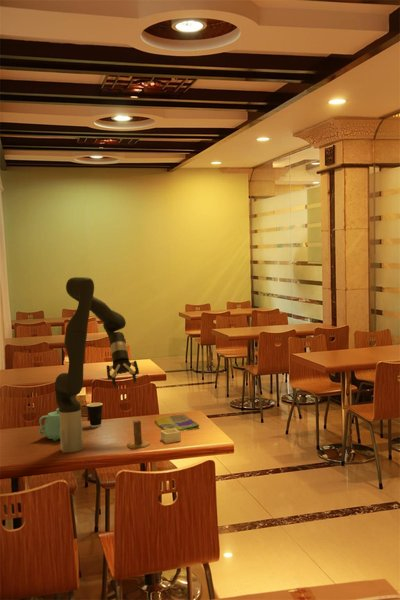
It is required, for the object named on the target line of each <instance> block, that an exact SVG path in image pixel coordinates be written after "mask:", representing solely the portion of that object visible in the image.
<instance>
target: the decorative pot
mask: <svg viewBox="0 0 400 600" xmlns="http://www.w3.org/2000/svg"><path fill="white" fill-rule="evenodd" d="M43 419H45V420H44V423H43V422H42V420H43ZM38 423H39V425H40V429H39V430H38V434H39V435H44V436H45V437H46V438H47V439H48V440H52V441H54V442H57V441H58V440H60V431H59V428H60V417H59V407H58V408H56V409H55V411H51V412H48V414H47V415H42V416H41V417H40V418H39V421H38ZM43 424H44V425H43Z"/></svg>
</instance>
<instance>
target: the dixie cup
mask: <svg viewBox="0 0 400 600" xmlns="http://www.w3.org/2000/svg"><path fill="white" fill-rule="evenodd" d="M86 407H87V412H88V413H87V414H88V418H89V424H90V427H91V428H100V427H101V426H102V425H101V424H102V416H103V415H102V414H103V403H102V402H91V403H87V404H86Z"/></svg>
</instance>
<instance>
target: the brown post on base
mask: <svg viewBox="0 0 400 600" xmlns="http://www.w3.org/2000/svg"><path fill="white" fill-rule="evenodd" d="M132 422H133V439H134V440H133V441H129V442H128V443H127V444H126V446H127V448H129V449H138V450H139V449H144V448H147V447H148V446H150V442H149V440H142V439H143V438H142V426H141V425H142V424H141V423H142V422H141V420H140V419H137V420H133V421H132Z"/></svg>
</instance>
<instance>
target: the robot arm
mask: <svg viewBox="0 0 400 600" xmlns="http://www.w3.org/2000/svg"><path fill="white" fill-rule="evenodd" d="M65 291H66V293H67V294H68V296H70V298H72V299H73V300H75V301H77V302H78V303H77V304H78V305H77V308H76V310H75V312H74V314H73V315H72V317H71V318H70V319H69V320H68V323H67V324H66V327H65V332H64V340H63V341H64V347H65V352H66V355H67V358H68V359H67V360H68V368H67V369H68V370H67V372H63V373H62V372H61V373H60V374H58V375H57V377H56V378H55V381H54V392H55V400H56V405H57V407H58V408H59V417H60V428H59V431H60V439H59V441H60V442H59V443H60V450H61V453H62V454H63V453H76V452H80V451H82V450H83V449H84V441H83V440H84V436H83V424H82V423H83V422H82V421H83V420H82V406H81V403H80V402H79V401H78V400H77V398H76V396H78V395H79V394H80V393H81V392H82V389H83V386H84V385H83V384H84V363H85V362H84V361H85V352H86V351H85V350H86V343H87V336H88V325H89V319H90V318H89V317H90V314H91V313H92V314H94V315H95V316H96V318H98V319H99V321H101V322H102V323H103V324H102V327H103V329H104V331H105V332H106V335H107V337H108V340H109V345H110V354H111V360H112V365H106V376H107V380H111V381H112V386H113V387H114V388H116V387H117V382H116V378H117V376H118V375H121V374H127V373H128V374H130V375H131V377H132V382H133V384H136V382H137V376H136V375H139V374H140V371H139V366H138V362H137V360H134V361H132V362H131V361H130V358H129V352H128V347H127V344H126V340H125V335H124V333H123V332H121V331H120V330H122V329H124V328H125V327H126V325H127V323H126V321H127V320H126V319H125V317H124V316H123V315H122V314H121V313H119V312H117V311H115V310H112V309H111V308H110V307H109V305H107V304H106V303H105V302H104V301H102V300H101V299H99V298H97V297H95V296H94V293H95V284H94V281H93V279H92V278H90V277H87V276H86V277H84V276H83V277H81V276H79V277H77V276H74V277H70V278H69V279H68V280H67V281H66V283H65ZM90 312H91V313H90ZM131 366H132V367H133V368H134V369H135V371H134V369H132V368H131ZM112 370H114V371H113V373H112V374H111V371H112Z"/></svg>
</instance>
